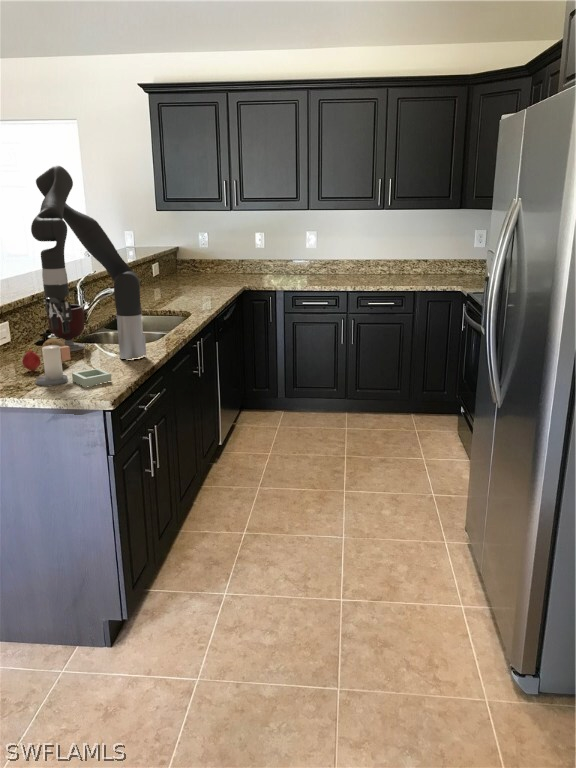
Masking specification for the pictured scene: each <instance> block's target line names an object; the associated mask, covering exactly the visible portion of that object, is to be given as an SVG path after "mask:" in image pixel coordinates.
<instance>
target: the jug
mask: <svg viewBox="0 0 576 768" xmlns="http://www.w3.org/2000/svg"><path fill="white" fill-rule="evenodd" d="M41 348H42V352H43V354H42V359H43V368H44V375H45V379H47V380H58V379H61V378H63V375H64V373H63V362H64V361H71V359H72V357H71V351H70V347H69V346H62V347H60V346H56V345H52V346H45V347H42V346H41ZM42 352H41V353H42Z"/></svg>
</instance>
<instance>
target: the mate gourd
mask: <svg viewBox="0 0 576 768" xmlns="http://www.w3.org/2000/svg"><path fill="white" fill-rule="evenodd" d="M42 301H43V303H46V301H45V299H43V300H42ZM70 304H71V312H72V320H70V321H69V326H70V333H66V334H64V333H63V330H62V321H61V318H60V317H59V316H58V317H57V318H58V324H59V329H55V330H53V329H52V327H51V318H49V316H47V319H48V326H49V329H50V332H51V333H52V334H53V335H54V336H55V337H56V338H58V339H62V340H64V342H63V343H64V344H65V346H69V347H70V352H74V351H75V352H77V351H81V350H83V349H85V348H86V345H85V344H84V343H79V342H74V341H73V340H74V339H76V338H78V337H79V336H81V335H82V333H83V331H85V330H84V329H85V322H86V321H85V312H84V310H83V306H82V305H80V304H72V303H70ZM68 315H69V314H68Z"/></svg>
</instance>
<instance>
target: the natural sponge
mask: <svg viewBox="0 0 576 768" xmlns="http://www.w3.org/2000/svg"><path fill="white" fill-rule="evenodd" d="M64 343H65V342H63V341H62V340H61V339H60V338H58V337H56V338H55V337H50V338H48V339H47V340H45V341H44V342H43V344H42V346H41V349H40V350H41V354H42V355H43V352H42V347H45V346H52V345H56V346H60V347H62V346H65V344H64Z"/></svg>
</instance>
